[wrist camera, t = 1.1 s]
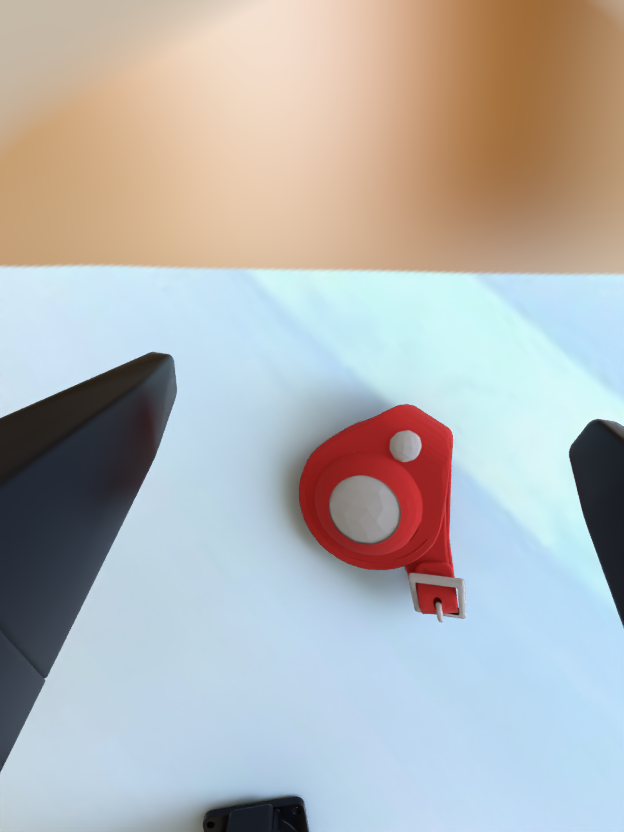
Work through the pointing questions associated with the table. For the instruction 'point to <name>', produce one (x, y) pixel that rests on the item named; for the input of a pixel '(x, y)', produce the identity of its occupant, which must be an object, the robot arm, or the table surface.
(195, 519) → the table surface
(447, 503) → the tracker holder
